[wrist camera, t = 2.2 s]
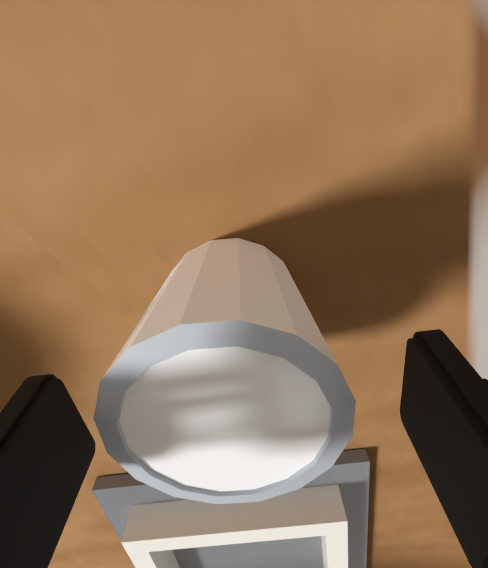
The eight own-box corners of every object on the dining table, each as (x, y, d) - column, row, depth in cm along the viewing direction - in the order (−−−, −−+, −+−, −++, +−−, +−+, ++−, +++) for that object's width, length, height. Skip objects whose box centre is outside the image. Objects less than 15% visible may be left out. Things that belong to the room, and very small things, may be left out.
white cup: (126, 248, 14) (38, 363, 8) (291, 201, 13) (335, 289, 7) (185, 372, 17) (154, 524, 11) (322, 340, 16) (372, 485, 10)
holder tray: (362, 581, 27) (374, 629, 25) (163, 598, 28) (156, 646, 26) (365, 448, 20) (383, 497, 17) (96, 477, 21) (77, 527, 18)
